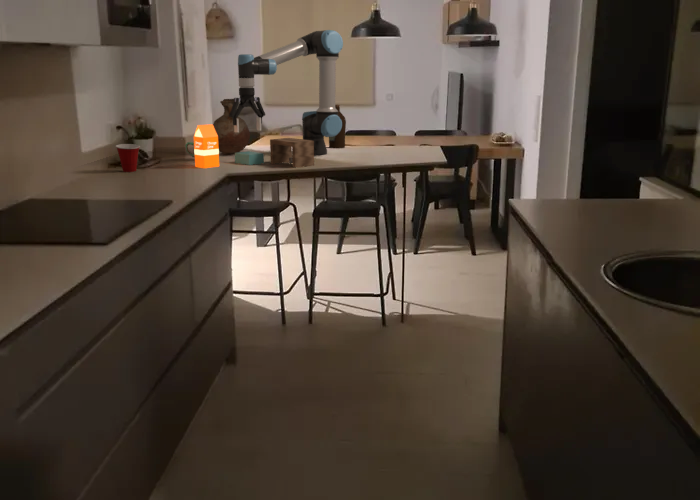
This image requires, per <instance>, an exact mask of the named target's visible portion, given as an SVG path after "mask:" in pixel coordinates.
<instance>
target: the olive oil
mask: <svg viewBox="0 0 700 500" xmlns="http://www.w3.org/2000/svg"><path fill="white" fill-rule="evenodd" d="M335 108H336V109H337V110H338V116H339V117H340V119H341V121H342V128H341V131H340V132H339V133H338V134H337V135H336V136H334V137H328V146H329V148H330V149H343V148H345V147H346V130H347V128H346V126H347V120H346V117H345V116H344V115H343V113H342V112H341V108H340V104H335Z"/></svg>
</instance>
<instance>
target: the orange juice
mask: <svg viewBox="0 0 700 500" xmlns="http://www.w3.org/2000/svg"><path fill="white" fill-rule="evenodd" d="M193 143H194V145H193V149H194V151H193V152H194V154H193V155H195V158H194V165H195V168H200V169H208V168H218V167H220V151H219V148H218V135H217V133H216V131H215V129H214V126H213V124H211V123H210V124H197V126H196V128H195V132H194V135H193Z"/></svg>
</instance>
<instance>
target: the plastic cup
mask: <svg viewBox="0 0 700 500" xmlns="http://www.w3.org/2000/svg"><path fill="white" fill-rule="evenodd" d="M115 148H116V150H117V153H118V157H119V160H120V164H121V169H122V172H123V173H133V172H134V173H135V172H136V171H137V169H138V168H137V167H138V159H139V158H138V157H139V152H140V151H139V150H140V148H141V145H138V144H136V143H135V144H132V143H120V144H116V145H115Z"/></svg>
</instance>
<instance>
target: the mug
mask: <svg viewBox="0 0 700 500" xmlns="http://www.w3.org/2000/svg"><path fill="white" fill-rule="evenodd" d="M184 145H185V151H186V153H188V155H190V156H191V157H192V158H194V159H195V154H193V153H192V152H191V151H190V150H189V146H194V142H191V141H190V142H186V144H184Z"/></svg>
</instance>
